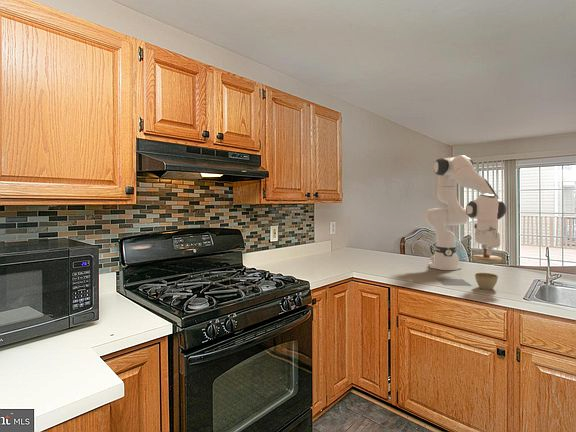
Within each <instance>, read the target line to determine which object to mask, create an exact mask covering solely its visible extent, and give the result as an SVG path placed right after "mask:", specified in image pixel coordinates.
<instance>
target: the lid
mask: <svg viewBox="0 0 576 432" xmlns="http://www.w3.org/2000/svg"><path fill="white" fill-rule="evenodd" d="M486 251H487V249H484V253H483V252H482V254H474V255H471V259H473V260H477V261H484V262H485V261H486V262H487V261H488V262H501V261H502V260H503V259H502V258H503V257H501V256H497V255H492V254H491V255H487V254H486Z"/></svg>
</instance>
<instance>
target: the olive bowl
mask: <svg viewBox="0 0 576 432" xmlns="http://www.w3.org/2000/svg"><path fill="white" fill-rule="evenodd" d="M474 277H475V281H476V283H477V285H478V287H479V289H481V290H487V291H491V290H493V289H494V287H495V286H496V284H497V282H498V278H499V276H498V274H494V273H491V272H490V273H489V272H477V273H476V272H475V273H474Z"/></svg>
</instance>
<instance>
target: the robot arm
mask: <svg viewBox="0 0 576 432" xmlns="http://www.w3.org/2000/svg"><path fill="white" fill-rule="evenodd" d="M433 171H434V173H435V175H437V176H438V179H437V196H436V197H437V200H439V202H441V203H444V204H446V205H447V207H434V208H429V209H427V210H426V212H425V213H424V220H425V222H426V223H427V224H428V225H429V226H431V228H432V229H433V230H434V232H435V238H436V239H435V241H436V245H435V249H434V250H435V253H434V254H433V255H432V256H430V261H429V262H428V264H429V265H428V266H429V268H431V269H437V270H443V271H455V270H456V271H457V270H459V269H460V270H461V269H462V267H461V266H460V263H459V261H460V260H459V255H458V254H457V247H456V239H457V238H456V234H455V233H454V232H453V231H451V230H450V229H447V228H446V226H461V225H465V224H467V223H468V221H469V219H470V218H471V219H474V220H476V219H477V222H476V223H475V224H473V229H474V240H475V242H476V243H478V244H480V245H481V249H482V254H483V253H484V249H487V251H486V254H487V255H491V256H492V251H493V248H500V246H501V239H500V238H501V237H500V232H499V231H498V230H499V229H498V227H499V220H500V219H502V218H503V217H504V216H505V215H506V214H507V205H506V204H505V203H504V201H502V199H501V198H499V196H498V194H497V193H496V191H495V190H494V189H493V188H492V186H491V184H490V182H489V181H488V180H487V179H486V178H485V177H482V175H480V174H479V173H478V172H477V171H476V169H475V167H474V161H473V159H472V158H470V157H468V156H466V155H462V154H461V155H458V156H453V157H440V158H437V159H436V160H435V161H434V163H433ZM457 186H460V187H462V188H465V189H470V190H474V191H477V192H480V194H479V195H478V196H477V197H478V198H475V199H474V200H471V201H469V202H468V203H467V204H466V207H465V208H464V207H463V206H462V204H460V202H459V200H458V195H457V194H458V192H457V188H458V187H457Z"/></svg>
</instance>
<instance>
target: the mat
mask: <svg viewBox="0 0 576 432" xmlns="http://www.w3.org/2000/svg"><path fill="white" fill-rule="evenodd" d="M436 280H437V281H438V282H439V283H440V284H442V285H443V286H459V287H460V286H462V287H463V286H465V287H472V286H473V285H472V284H470V283H469V282H468V281H466V280H464V279H463V278H436Z"/></svg>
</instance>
